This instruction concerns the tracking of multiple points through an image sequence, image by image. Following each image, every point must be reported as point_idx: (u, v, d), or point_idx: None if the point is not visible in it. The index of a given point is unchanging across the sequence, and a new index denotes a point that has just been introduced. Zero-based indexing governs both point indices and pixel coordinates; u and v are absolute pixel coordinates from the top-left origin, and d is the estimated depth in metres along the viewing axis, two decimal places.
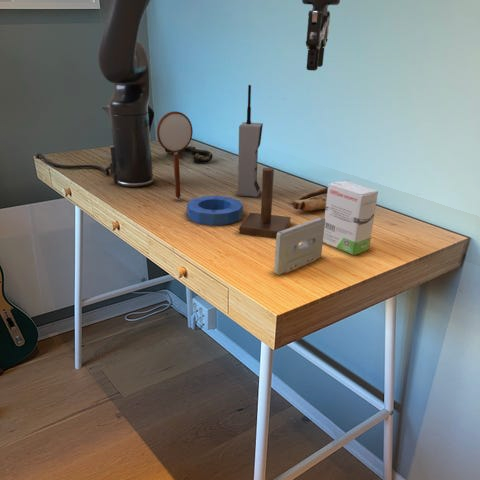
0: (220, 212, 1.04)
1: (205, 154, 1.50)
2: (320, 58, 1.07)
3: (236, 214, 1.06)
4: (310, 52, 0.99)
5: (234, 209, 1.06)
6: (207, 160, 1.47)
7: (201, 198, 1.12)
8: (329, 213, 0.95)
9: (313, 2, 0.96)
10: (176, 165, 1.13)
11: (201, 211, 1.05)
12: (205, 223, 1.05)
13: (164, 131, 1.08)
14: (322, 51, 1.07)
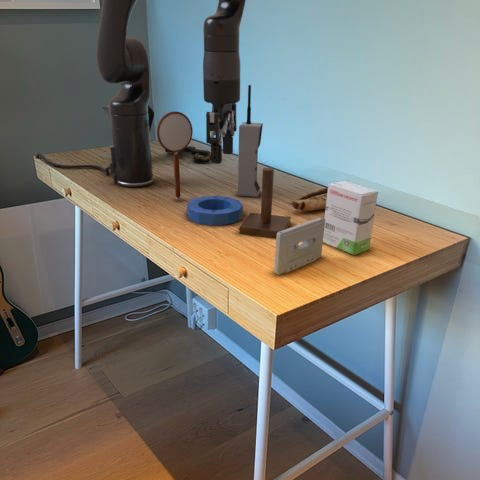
0: (220, 212, 1.04)
1: (205, 154, 1.50)
2: (229, 146, 1.10)
3: (236, 214, 1.06)
4: (212, 148, 1.02)
5: (234, 209, 1.06)
6: (207, 160, 1.47)
7: (201, 198, 1.12)
8: (329, 213, 0.95)
9: (212, 102, 0.99)
10: (176, 165, 1.13)
11: (201, 211, 1.05)
12: (205, 223, 1.05)
13: (164, 131, 1.08)
14: (231, 140, 1.10)
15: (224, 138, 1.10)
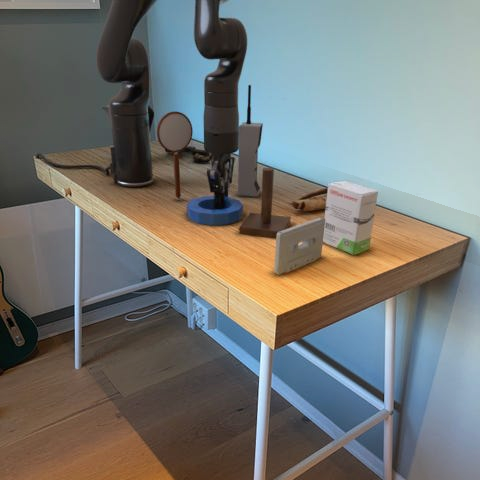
0: (220, 212, 1.05)
1: (205, 154, 1.50)
2: None
3: (236, 214, 1.06)
4: (216, 195, 1.10)
5: (235, 209, 1.06)
6: (207, 160, 1.47)
7: (201, 198, 1.12)
8: (329, 213, 0.95)
9: (211, 152, 1.04)
10: (176, 165, 1.13)
11: (201, 211, 1.05)
12: (205, 223, 1.05)
13: (164, 131, 1.08)
14: (226, 192, 1.13)
15: None
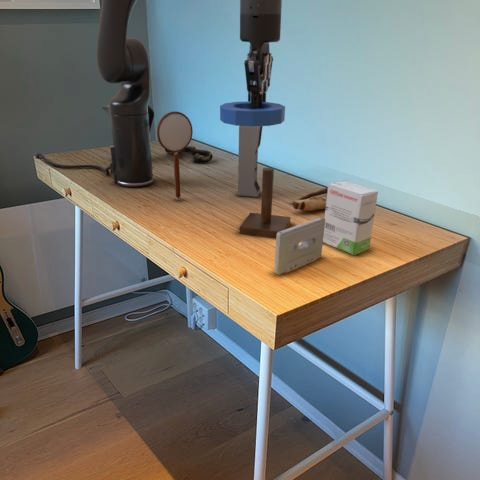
0: (260, 110, 0.89)
1: (205, 154, 1.50)
2: None
3: (278, 114, 0.91)
4: (253, 97, 0.95)
5: (277, 108, 0.91)
6: (207, 160, 1.47)
7: (235, 102, 0.97)
8: (329, 213, 0.95)
9: (250, 40, 0.89)
10: (176, 165, 1.13)
11: (238, 109, 0.90)
12: (243, 124, 0.90)
13: (164, 131, 1.08)
14: (264, 96, 0.98)
15: None
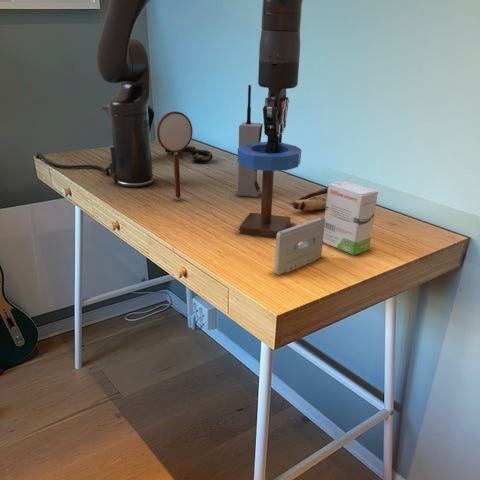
0: (278, 155, 0.91)
1: (205, 154, 1.50)
2: None
3: (295, 158, 0.93)
4: (269, 139, 0.97)
5: (294, 153, 0.93)
6: (207, 160, 1.47)
7: (252, 144, 0.99)
8: (329, 213, 0.95)
9: (268, 87, 0.91)
10: (176, 165, 1.13)
11: (256, 154, 0.92)
12: (261, 168, 0.92)
13: (164, 131, 1.08)
14: (280, 138, 1.00)
15: None
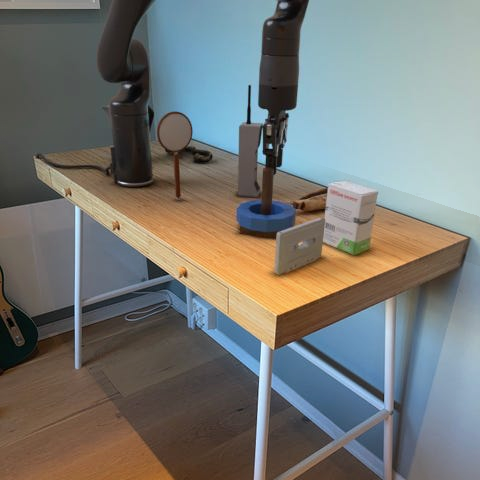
0: (273, 217, 0.98)
1: (205, 154, 1.50)
2: (279, 159, 1.04)
3: (290, 220, 1.00)
4: (268, 159, 0.98)
5: (288, 215, 1.00)
6: (207, 160, 1.47)
7: (250, 202, 1.06)
8: (329, 213, 0.95)
9: (268, 109, 0.94)
10: (176, 165, 1.13)
11: (253, 216, 0.98)
12: (257, 229, 0.99)
13: (164, 131, 1.08)
14: (280, 153, 1.03)
15: None
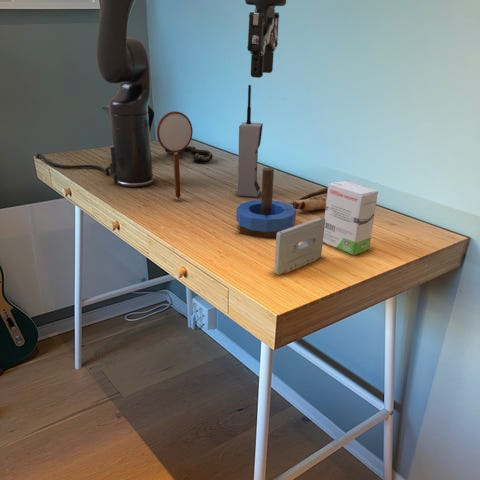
0: (273, 217, 0.98)
1: (205, 154, 1.50)
2: (269, 63, 0.99)
3: (290, 220, 1.00)
4: (253, 58, 0.91)
5: (288, 215, 1.00)
6: (207, 160, 1.47)
7: (250, 202, 1.06)
8: (329, 213, 0.95)
9: (255, 3, 0.87)
10: (176, 165, 1.13)
11: (253, 216, 0.98)
12: (257, 229, 0.99)
13: (164, 131, 1.08)
14: (271, 56, 0.98)
15: (264, 53, 0.98)
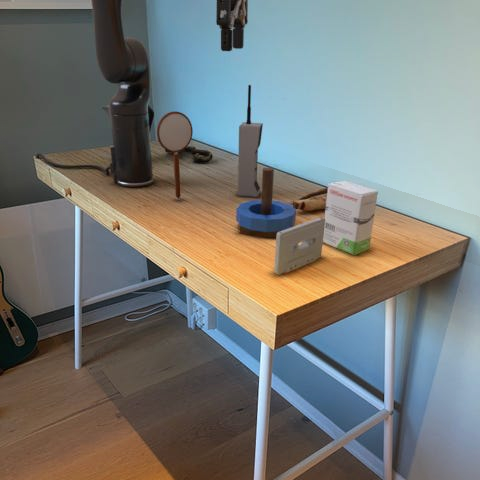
0: (273, 217, 0.98)
1: (205, 154, 1.50)
2: (240, 39, 1.04)
3: (290, 220, 1.00)
4: (223, 32, 0.96)
5: (288, 215, 1.00)
6: (207, 160, 1.47)
7: (250, 202, 1.06)
8: (329, 213, 0.95)
9: None
10: (176, 165, 1.13)
11: (253, 216, 0.98)
12: (257, 229, 0.99)
13: (164, 131, 1.08)
14: (241, 32, 1.04)
15: (234, 30, 1.04)
